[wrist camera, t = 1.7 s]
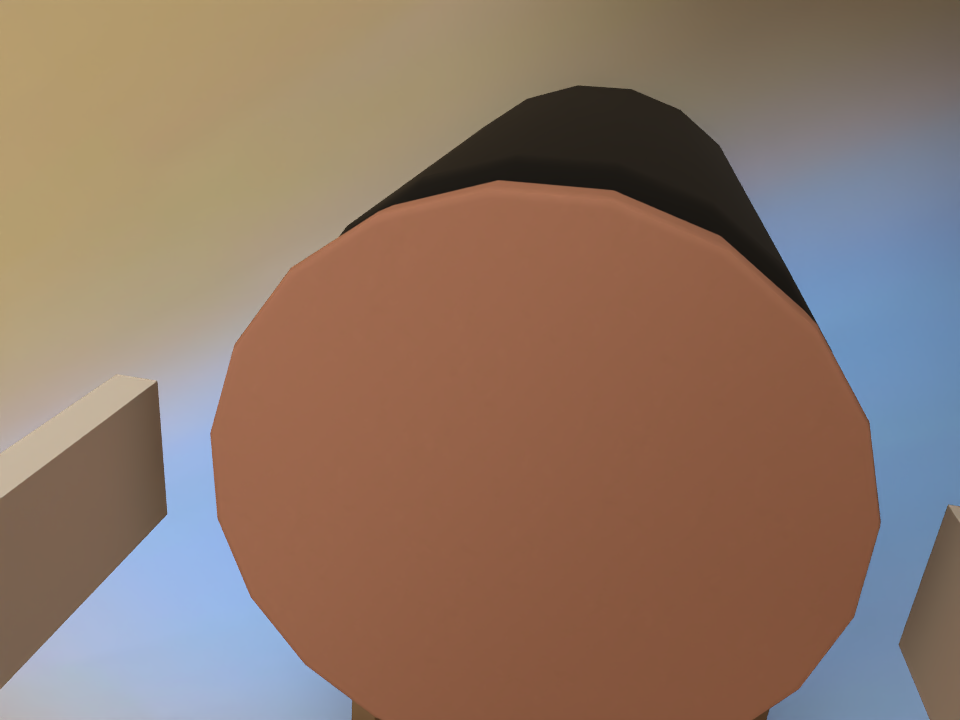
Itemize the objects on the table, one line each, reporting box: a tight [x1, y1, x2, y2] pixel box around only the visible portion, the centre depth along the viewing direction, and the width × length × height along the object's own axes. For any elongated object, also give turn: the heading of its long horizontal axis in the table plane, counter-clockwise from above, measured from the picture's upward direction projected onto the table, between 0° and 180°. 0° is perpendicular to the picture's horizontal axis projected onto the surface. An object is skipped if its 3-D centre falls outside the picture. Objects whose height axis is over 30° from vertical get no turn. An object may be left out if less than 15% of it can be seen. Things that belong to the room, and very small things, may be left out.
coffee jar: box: [210, 86, 881, 720], centre depth 21 cm, size 11×11×18 cm
